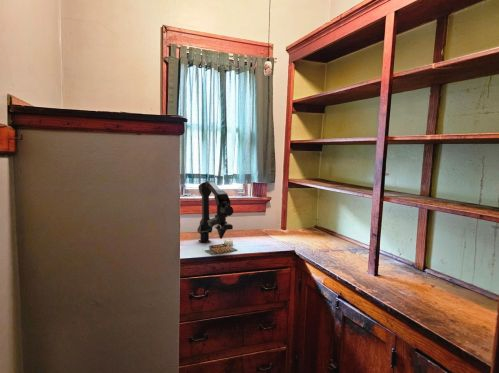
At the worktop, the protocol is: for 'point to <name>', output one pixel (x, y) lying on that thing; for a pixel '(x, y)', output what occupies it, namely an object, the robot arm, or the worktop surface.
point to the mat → (221, 251)
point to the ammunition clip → (219, 248)
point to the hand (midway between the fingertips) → (220, 238)
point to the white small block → (228, 242)
